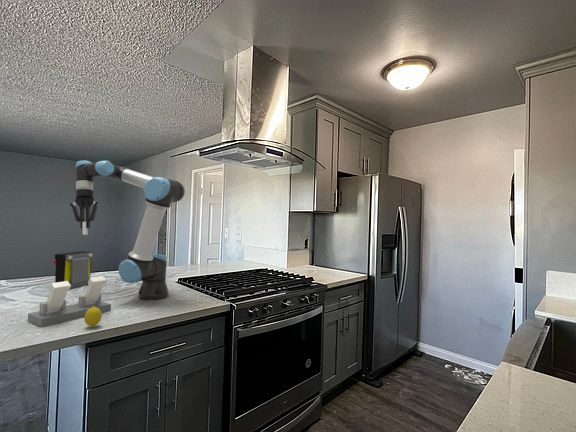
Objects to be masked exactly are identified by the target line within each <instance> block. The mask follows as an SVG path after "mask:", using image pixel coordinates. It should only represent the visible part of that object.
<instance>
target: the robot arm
mask: <svg viewBox="0 0 576 432" xmlns="http://www.w3.org/2000/svg"><path fill="white" fill-rule="evenodd" d="M101 177H102V178H105V179H106V178H108V179H113V180H117V181H121V182H124V183H127V184H130V185H132V186H135V187H139V188H142V189H143V193H144V196H145V203H146V205H147V206H146V209H145V212H144V215H143V218H142V221H141V225H140V228H139V230H138V234H137V238H136V240H135V243H134V246H133V250H132V251H130V252H128V255H127V256H126V257H127V258H126V259H124V260H123V261H121V262H120V264H119V265H118V275H119V276H120V279H121V280H122V281H124V283H127V284H136V283H139V282H141V286H139V290H138V293H137V298H138V299H140V300H144V301H145V300H146V301H152V300H161V299H165V298H167V297H169V292H170V291H169V288H168V286H167V282H166V280H167V278H166V276H167V263H168V262H167V256H166V255H165V254H161V253H160V254H157V253H153V250H154V247H155V244H156V240H157V239H158V235H159V232H160V228H161V226H162V224H163V220H164V217H165V214H166V211H167V210H168V209H171V205H172V203H177V202H180V201H182V199H183V198H184V196H185V194H186V193H185V192H186V190H185V187H184V185H183V184H182V183H181V182H180V181H177V180H176V179H175V180H174V179H170V178H165V177H162V176H160V177H159V176H151V175H148V174H145V173H142V172H138V171H136V170H132V169H130V168H127V167H124V166H120V165H115V164H113V163H112V162H111V161H110V160H99V161H97V162H91V161H89V160H84V159H83V160H78V161H77V162H76V163H75V190H76V191H75V200H74V202H70V203H69V205H70V208H71V209H72V212H73V214H74V215H73V216H74V218H75V221H76V222H79V224H80V229H82V235H84V236H89V235H88V234H89V230H88V229H90V228H91V222H93V221H94V220H95V218H96V214H97V210H98V207H99V206H100V203H99V202H98V201H95V198H94V179H95V178H101ZM77 206H78V207H79V211H78V207H77ZM91 207H92V209H91Z"/></svg>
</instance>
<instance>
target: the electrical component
mask: <svg viewBox="0 0 576 432" xmlns="http://www.w3.org/2000/svg"><path fill="white" fill-rule="evenodd" d="M93 256H94V254H93V252H92V251H83V250H82V251H81V250H79V251H74V252H73V251H72V252H62V253H56V254H54V260H53V263H54V265H55V277H54V279H55V280H54V283H56V282H63V281H68V282H69V284H70V285H71V286H70V289H74V288H79V287H82V286H83V285H84V286H88V285H87V284H88V281H89V279H90V278H91V272H92V271H91V269H92V258H93ZM70 289H69V290H70Z"/></svg>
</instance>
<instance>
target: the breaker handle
mask: <svg viewBox="0 0 576 432" xmlns="http://www.w3.org/2000/svg"><path fill="white" fill-rule="evenodd" d="M106 283H107V279H106V277H105V276H104V275H100V276H99V275H98V276H92V277H90V279H89V281H88V285H87V288H86V290H85V293H84V295H83V296H85V304H88V303H93V302H97V300H98V297H99V295H100V293H101V292H102V289H103V287H104V286H105V284H106Z"/></svg>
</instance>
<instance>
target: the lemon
mask: <svg viewBox="0 0 576 432" xmlns="http://www.w3.org/2000/svg"><path fill="white" fill-rule="evenodd" d="M102 315H103V313H101V311H100V309H99V308H97V307H95V306H93V307H92V308H90V309H88V310H87V312H86V314H85V317H84V323H85V325H87V326H89V327H90V328H94V327H95V326H97V325H98V324H99V323H100V322H101V320H102V317H103V316H102Z"/></svg>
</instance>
